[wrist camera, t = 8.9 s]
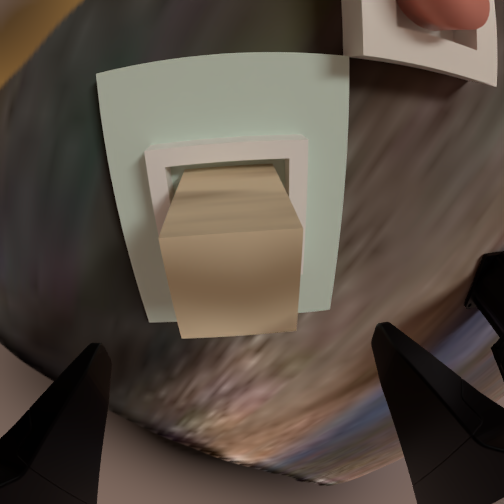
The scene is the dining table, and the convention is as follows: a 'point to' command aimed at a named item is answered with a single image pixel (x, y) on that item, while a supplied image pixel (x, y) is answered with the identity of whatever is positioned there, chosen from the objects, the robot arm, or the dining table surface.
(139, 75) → the tray
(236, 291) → the block
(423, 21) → the button
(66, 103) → the dining table surface
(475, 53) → the button housing
